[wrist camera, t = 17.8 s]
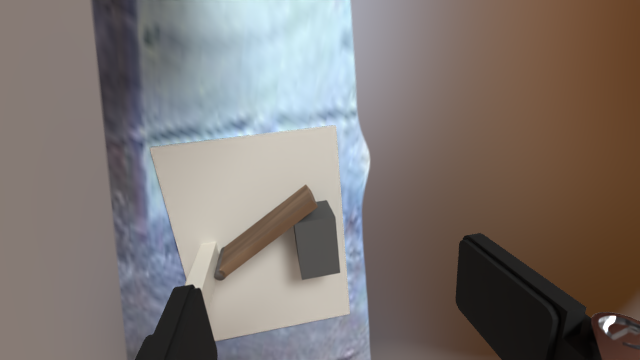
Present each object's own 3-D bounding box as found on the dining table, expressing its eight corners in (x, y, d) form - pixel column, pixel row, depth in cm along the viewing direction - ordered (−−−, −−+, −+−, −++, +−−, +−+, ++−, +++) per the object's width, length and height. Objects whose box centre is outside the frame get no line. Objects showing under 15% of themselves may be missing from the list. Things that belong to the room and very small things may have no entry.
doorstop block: (290, 205, 41) (294, 223, 36) (326, 200, 42) (335, 216, 36) (297, 256, 44) (302, 280, 38) (331, 250, 44) (340, 272, 39)
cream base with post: (152, 146, 37) (82, 187, 23) (334, 125, 40) (372, 149, 26) (205, 338, 46) (179, 449, 32) (348, 309, 49) (380, 400, 35)
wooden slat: (218, 250, 41) (211, 275, 36) (305, 183, 40) (311, 199, 35) (225, 257, 41) (219, 282, 36) (311, 191, 41) (318, 207, 35)
